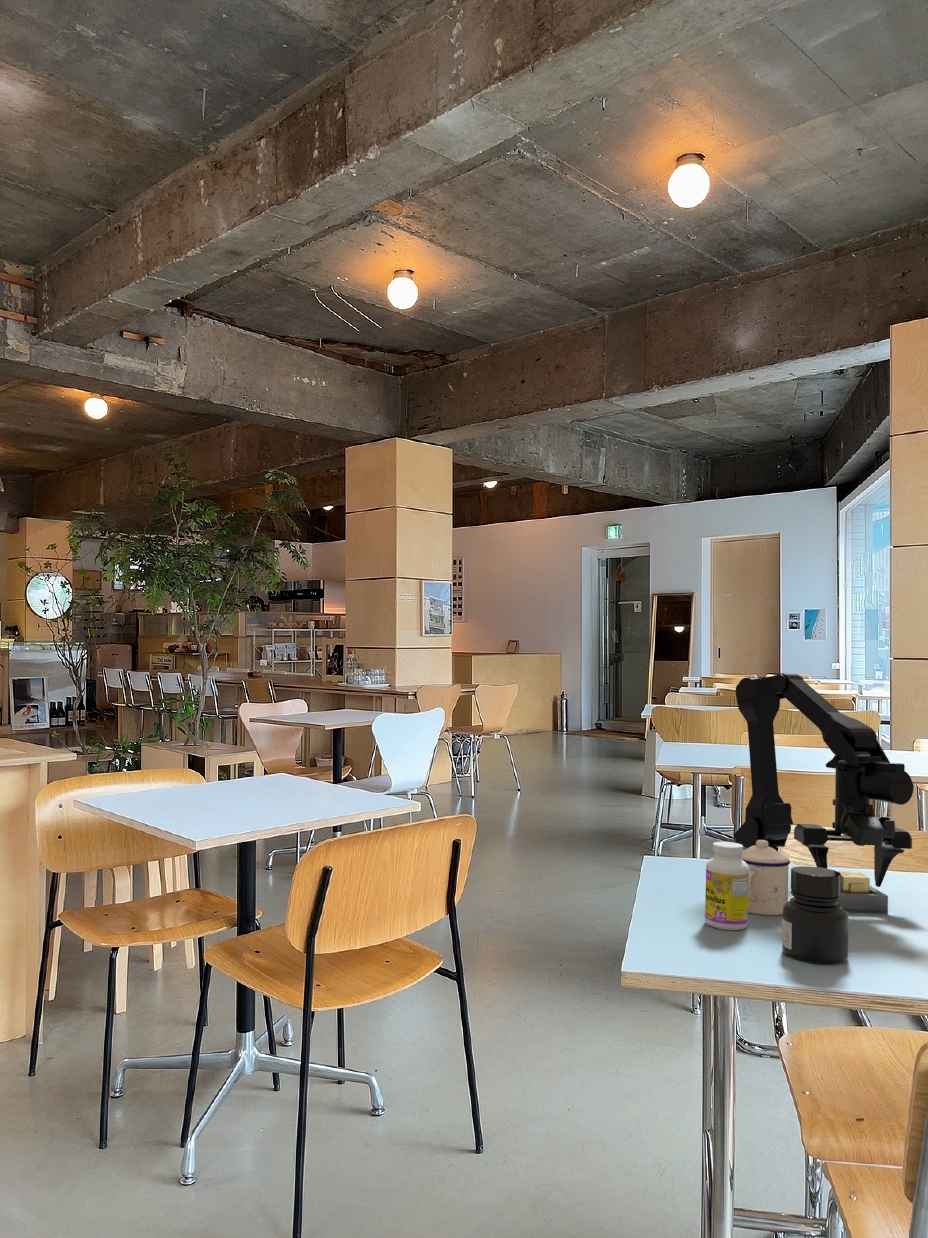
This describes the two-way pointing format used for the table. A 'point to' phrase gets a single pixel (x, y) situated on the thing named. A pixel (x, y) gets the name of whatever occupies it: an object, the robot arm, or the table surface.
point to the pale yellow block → (854, 883)
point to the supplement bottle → (727, 887)
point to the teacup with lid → (766, 879)
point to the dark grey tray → (865, 902)
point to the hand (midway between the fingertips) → (851, 885)
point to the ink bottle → (815, 917)
